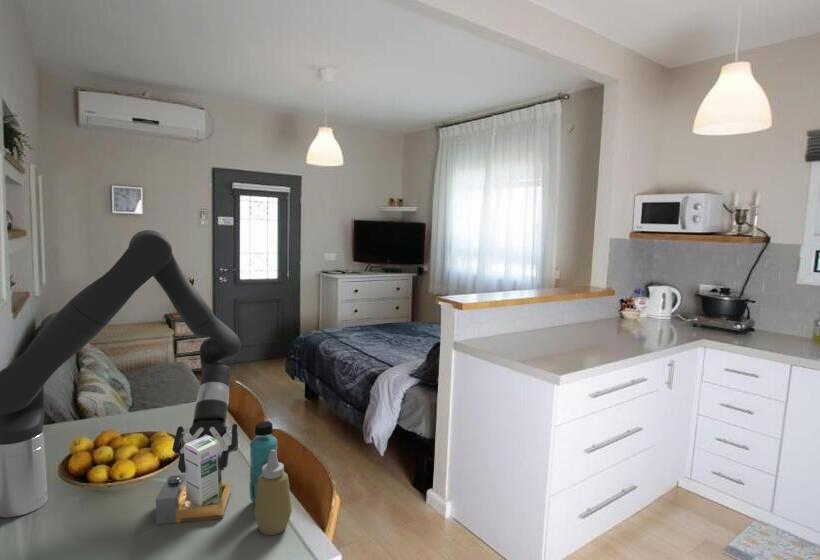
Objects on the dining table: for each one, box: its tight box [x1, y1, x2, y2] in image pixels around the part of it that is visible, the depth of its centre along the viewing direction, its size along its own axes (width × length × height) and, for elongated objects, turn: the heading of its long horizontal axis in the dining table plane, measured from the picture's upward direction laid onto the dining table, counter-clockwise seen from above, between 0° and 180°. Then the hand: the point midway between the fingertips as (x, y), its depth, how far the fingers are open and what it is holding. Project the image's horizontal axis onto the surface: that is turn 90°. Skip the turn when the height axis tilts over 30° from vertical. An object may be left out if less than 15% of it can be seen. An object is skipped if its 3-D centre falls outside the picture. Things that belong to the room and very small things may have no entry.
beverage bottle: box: [249, 420, 278, 504], centre depth 113 cm, size 6×7×20 cm
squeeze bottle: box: [253, 450, 293, 536], centre depth 104 cm, size 8×8×18 cm
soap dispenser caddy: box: [155, 474, 232, 525], centre depth 110 cm, size 14×10×7 cm
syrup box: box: [183, 435, 222, 506], centre depth 110 cm, size 6×6×14 cm
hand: (202, 470), depth 109 cm, fingers closed on syrup box, 8 cm apart
